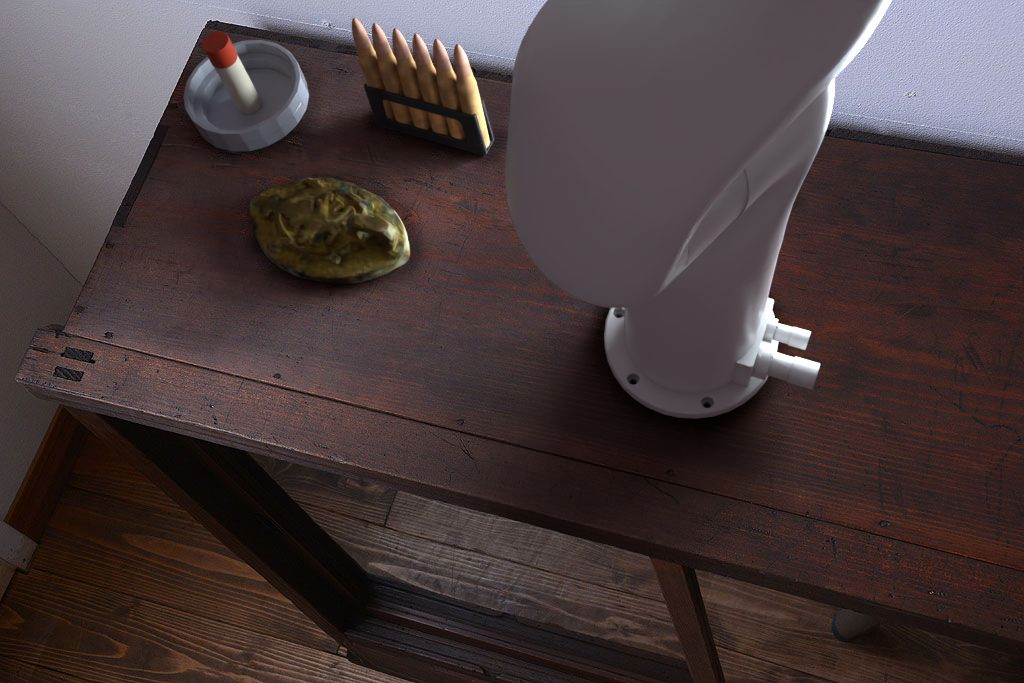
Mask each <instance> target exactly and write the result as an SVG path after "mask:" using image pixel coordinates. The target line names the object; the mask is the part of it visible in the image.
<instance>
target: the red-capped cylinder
mask: <svg viewBox="0 0 1024 683" xmlns="http://www.w3.org/2000/svg"><path fill="white" fill-rule="evenodd" d="M201 48H202V50H203V51H204V53H205V55H206V57H208V58H209V60H210V62H211V64H212V65H213V66H214V68H215V70H216V71H217V73H218V75H219V77H220V78H221V80H222V82H223V84H224V85H225V87H226V89H227V91H228V92H229V94H230V96H231V98H232V99H233V101H234V103H235V105H236V107H237V108H238V110H239V111H240V112H241V113H242V114H245V115H250V114H253V113H255V112H257V111H258V110H259V109H260V107H261V104H262V101H261V99H260V97H259V95H258V93H257V91H256V89H255V87H254V85H253V83H252V82H251V80H250V78H249V76H248V74H247V72H246V70H245V68H244V66H243V64H242V63H241V61H240V59H239V57H238V55H237V52H236V50H235V48H234V46H233V42H232V40H231V39H230V37H229V35H228V34H227V33H226V32H224V31H220V30H216V31H212V32H210V33H208V34H206V36H205V37H204V38H203V40H202V41H201Z"/></svg>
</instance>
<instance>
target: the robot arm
mask: <svg viewBox="0 0 1024 683" xmlns="http://www.w3.org/2000/svg"><path fill="white" fill-rule="evenodd" d="M891 3H892V0H546V2H545V3H544V4H543V5H542V6H541V8H540V9H539V11H537V13H536V15H535V17H534V18H533V19H532V21H531V23H530V24H529V26H528V28H527V29H526V31H525V33H524V36H523V37H522V39H521V41H520V45H519V46H518V50H517V52H516V57H515V60H514V64H513V71H512V72H513V73H512V78H511V88H510V89H511V92H510V103H509V114H508V115H509V116H508V126H507V140H506V152H505V165H504V188H505V189H504V190H505V197H506V202H507V208H508V211H509V216H510V218H511V222H512V224H513V228H514V230H515V232H516V234H517V236H518V239H519V241H520V242H521V245H522V246H523V248H524V250H525V252H526V253H527V254H528V256H529V257H530V260H531V261H532V262H533V263H534V264H535V266H536V267H537V268H538V270H540V272H541V273H542V274H543V275H544V276H545V277H546V278H547V279H548V280H549V281H550V282H551V283H553V284H554V285H555V286H556V287H558V288H559V289H560V290H561V291H563V292H565V293H566V294H567V295H570V296H571V297H573V298H575V299H577V300H579V301H582V302H585V303H587V304H590V305H594V306H596V307H601V308H607V309H609V310H608V313H607V316H606V319H605V324H604V332H603V341H604V350H605V356H606V361H607V363H608V365H609V367H610V370H611V372H612V374H613V376H614V378H615V379H616V380H617V382H618V384H619V385H620V387H621V388H622V389H623V390H624V391H625V392H626V393H627V394H628V395H629V396H630V397H631V398H632V399H634V400H635V401H637V402H638V403H640V404H641V405H643V406H645V407H646V408H647V409H650V410H652V411H654V412H657V413H659V414H662V415H665V416H669V417H673V418H679V419H693V420H694V419H695V420H697V419H705V418H713V417H716V416H720V415H723V414H726V413H729V412H731V411H733V410H735V409H736V408H739V407H740V406H742V405H744V404H745V403H747V402H748V401H749V400H750V399H752V398H753V397H754V396H755V395H756V394H757V393H758V392H759V391H760V390H761V388H762V387H763V386H764V384H765V383H766V382H767V380H768V378H769V377H771V378H775V379H778V380H781V381H785V382H786V383H787V384H791V385H794V386H797V387H801V388H804V389H808V390H811V391H812V390H813V388H814V386H815V383H816V380H817V377H818V374H819V370H820V366H821V363H820V362H817V361H813V360H810V359H806V358H803V357H800V356H797V355H796V356H791V355H788V354H785V353H781V352H778V349H779V348H778V347H779V343H782V344H785V345H787V346H788V347H793V348H796V349H798V350H803V351H806V349H807V347H808V343H809V341H810V337H811V334H812V331H810V330H807V329H803V328H801V327H797V326H790V325H787V324H782V323H779V319H778V318H775V314H774V311H773V308H774V304H775V300H774V299H773V298H770V297H769V295H770V290H771V286H772V282H773V280H774V279H773V278H774V274H775V271H776V267H777V262H778V258H779V254H780V251H781V248H782V244H783V241H784V236H785V233H786V229H787V226H788V225H787V224H788V223H789V222H788V221H789V218H790V215H791V212H792V209H793V206H794V203H795V201H796V198H797V196H798V194H799V192H800V189H801V187H802V186H803V183H804V181H805V179H806V177H807V175H808V173H809V172H810V171H809V170H810V169H811V167H812V165H813V162H814V161H815V158H816V156H817V155H818V153H819V150H820V148H821V145H822V143H823V141H824V138H825V135H826V132H827V129H828V126H829V123H830V120H831V116H832V112H833V107H834V101H835V100H834V99H835V86H836V85H835V83H836V82H835V79H836V78H837V77H838V75H840V74H841V72H842V71H844V70H845V68H846V67H847V66H848V65H849V64H850V63H851V62H852V60H853V59H854V58H855V57H856V55H858V53H859V52H860V51H861V50H862V48H863V47H864V46H865V44H866V43H867V41H868V40H869V39H870V37H871V36H872V34H873V33H874V31H875V30H876V28H877V26H878V25H879V23H880V21H881V20H882V19H883V16H884V15H885V13H886V12H887V9H888V8H889V6H890V4H891ZM631 382H635V384H633V383H631ZM705 405H708V406H709V407H705Z"/></svg>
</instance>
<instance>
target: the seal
mask: <svg viewBox="0 0 1024 683" xmlns="http://www.w3.org/2000/svg"><path fill="white" fill-rule="evenodd" d="M248 205H249V215H250V220H251V223H252V229H253V233H254V236H255V238H256V240H257V243H258V245H259V246H260V248H261V250H262V252H263V253H264V255H265V256H266V257H267V258H268V259H269V261H271V262H272V263H273V264H274V265H275V266H276V267H278V268H279V269H281V270H282V271H285V272H287V273H289V274H292V275H293V276H295V277H299V278H301V279H304V280H307V281H316V282H320V283H326V284H347V285H352V284H353V285H354V284H359V283H364V282H367V281H370V280H375V279H378V278H381V277H382V276H385V275H387V274H389V273H391V272H392V271H394V270H396V269H398V268H400V267H402V266H404V265H405V264H406V263H407V262H408V261H409V259H410V257H411V248H410V242H409V236H408V232H407V230H406V227H405V225H404V223H403V221H402V219H401V218H400V216H399V214H398V213H397V212H396V210H395V209H393V208H392V207H391V206H390V205H389V203H388V202H387V201H386V200H385V199H384V198H382V197H381V196H379V195H377V194H375V193H373V192H371V191H369V190H368V189H365V188H363V187H361V186H359V185H358V184H356V183H353V182H349V181H344V180H343V181H342V180H340V179H337V178H335V177H334V178H333V177H310V176H309V177H305V178H303V179H297V180H294V181H291V182H288V183H287V182H286V183H284V184H281V185H275V186H273V187H271V188H267V189H265V190H263V191H261V192H260V193H258V194H256V196H254V197H253V198H251V200H250V201H249V203H248Z"/></svg>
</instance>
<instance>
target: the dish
mask: <svg viewBox="0 0 1024 683" xmlns="http://www.w3.org/2000/svg"><path fill="white" fill-rule="evenodd" d="M232 44H233V46H234V48H235V50H236V52H237V55H238V57H239V59H240V61H241V63H242V64H243V66H244V68H245V70H246V72H247V74H248V76H249V78H250V80H251V82H252V83H253V85H254V87H255V89H256V91H257V93H258V95H259V97H260V99H261V101H262V104H261V107H260V109H259V110H258V111H257V112H255V113H253V114H250V115H245V114H242V113H241V112H240V111H239V110H238V108H237V107H236V105H235V103H234V101H233V99H232V98H231V96H230V94H229V92H228V91H227V89H226V87H225V85H224V84H223V82H222V80H221V78H220V77H219V75H218V73H217V71H216V70H215V68H214V66H213V65H212V64H211V62H210V60H209V58H208V57H207V56H206V57H205V58H204V59H203V60H201V62H199V63H198V64H197V65H196V66H195V67H194V69H193V71H192V72H191V74H190V76H189V77H188V78H187V80H186V84H185V87H184V92H183V102H184V103H183V104H184V110H185V112H186V113H187V115H188V117H189V118H190V120H191V121H192V123H193V124H194V126H195V127H196V129H197V131H198V132H199V134H200V136H201V137H202V138H203V139H204V140H205V141H206V142H208V143H209V144H210V145H212V146H213V147H215V148H216V149H217V148H218V149H221V150H224V151H228V152H232V153H233V152H252V151H256V150H260V149H264V148H267V147H269V146H271V145H274V144H275V143H277V142H279V141H280V140H282V139H285V137H286V136H287V135H288V134H289V133H291V132H292V131H293V130H294V129H295V128H296V127H297V126H298V125H299V123H300V122H301V120H302V118H303V116H305V115H304V114H305V113H306V111H307V109H308V103H309V98H310V93H309V87H308V81H307V79H306V77H305V75H304V73H303V71H302V69H301V67H300V64H299V62H298V60H297V59H296V58H295V57H294V55H293V54H292V52H290V51H289V50H288V49H286V48H285V47H283V46H282V45H280V44H278V43H276V42H272V41H268V40H264V39H248V40H247V39H246V40H240V41H237V42H232Z"/></svg>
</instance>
